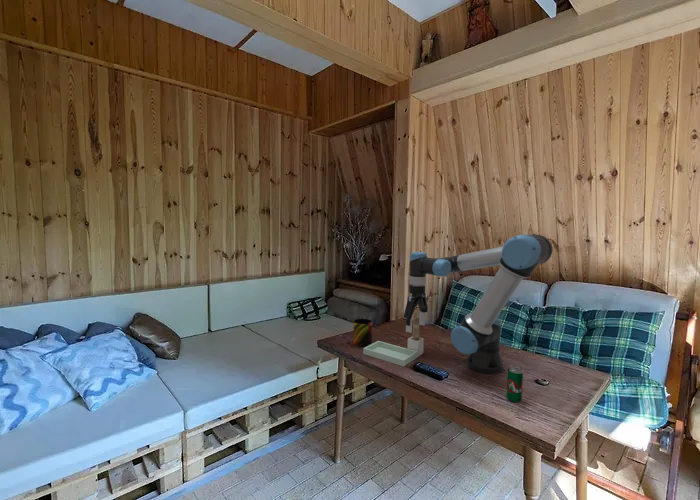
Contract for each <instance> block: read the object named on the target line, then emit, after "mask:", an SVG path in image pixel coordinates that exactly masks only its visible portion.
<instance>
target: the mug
mask: <svg viewBox="0 0 700 500" xmlns="http://www.w3.org/2000/svg"><path fill="white" fill-rule="evenodd" d="M352 328H353V334H352V335H353V336H352V337H353V339H352V343H353V346H354V347H357V348H365V347H367V346H369V345H371V344H373V338H372V337H373V321H372V320H371V319H369V318H357V319H354V320H353V327H352Z"/></svg>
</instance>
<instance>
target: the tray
mask: <svg viewBox="0 0 700 500" xmlns="http://www.w3.org/2000/svg"><path fill="white" fill-rule="evenodd" d="M362 354H363V355H366V356H368V357H372V358H375V359H378V360H381V361H385V362H387V363H390V364H395V365H397V366H400V367H405V366H407V365H408V364H410V363H411V362H413V361H414V360H416V359H417V358H418V357H419V356H418V351H414V350H410V349H407V348H406V347H402V346H399V345H395V344H391V343H388V342H384V341H380V340H376V342H372V344H371V345H369V346H367V347H362Z"/></svg>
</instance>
